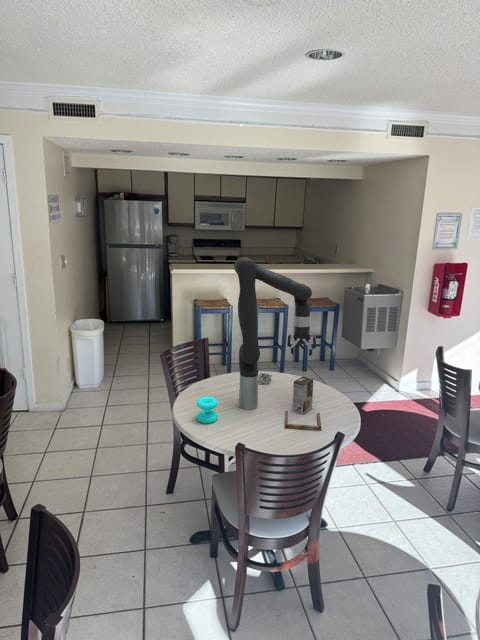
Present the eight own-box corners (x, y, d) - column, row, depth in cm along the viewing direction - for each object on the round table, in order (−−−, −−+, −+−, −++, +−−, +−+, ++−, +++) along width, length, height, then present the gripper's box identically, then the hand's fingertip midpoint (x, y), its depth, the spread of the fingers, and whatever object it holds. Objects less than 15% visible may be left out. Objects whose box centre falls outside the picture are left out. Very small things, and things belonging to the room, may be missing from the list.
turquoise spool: (192, 401, 203) (204, 393, 212) (192, 421, 206) (204, 412, 214) (210, 406, 198) (221, 398, 207) (210, 426, 201) (221, 417, 209)
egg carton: (268, 386, 247) (268, 379, 246) (255, 384, 249) (256, 377, 248) (272, 379, 257) (272, 372, 256) (260, 377, 259) (260, 371, 258)
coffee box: (301, 405, 223) (302, 375, 219) (312, 409, 219) (314, 379, 215) (291, 411, 217) (293, 381, 212) (302, 415, 213) (304, 384, 208)
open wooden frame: (284, 428, 200) (285, 424, 200) (285, 414, 214) (285, 410, 213) (321, 430, 198) (321, 427, 198) (319, 416, 212) (319, 413, 211)
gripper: (286, 325, 215) (286, 356, 219) (315, 327, 211) (314, 358, 215) (289, 321, 222) (288, 351, 226) (317, 323, 218) (316, 353, 222)
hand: (301, 355), depth 221 cm, fingers open, 8 cm apart
